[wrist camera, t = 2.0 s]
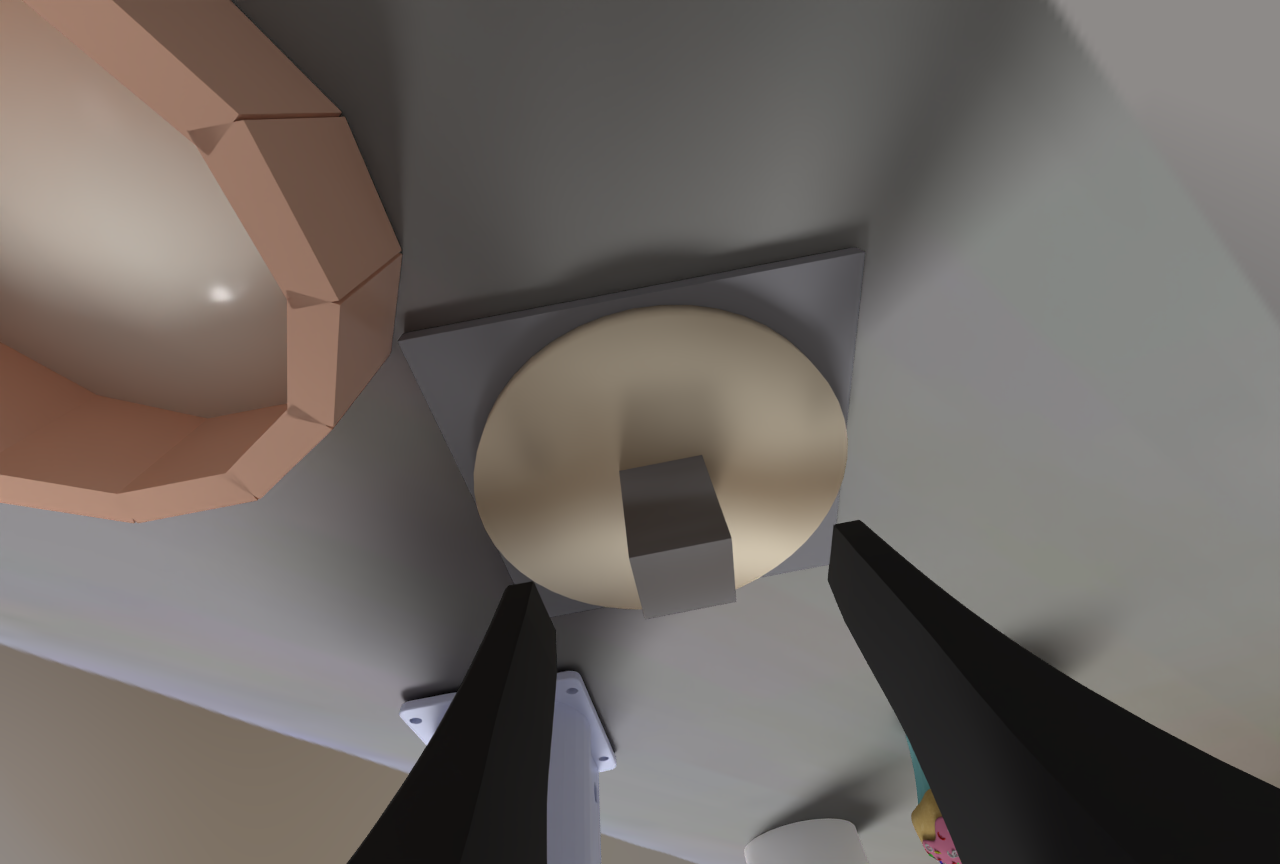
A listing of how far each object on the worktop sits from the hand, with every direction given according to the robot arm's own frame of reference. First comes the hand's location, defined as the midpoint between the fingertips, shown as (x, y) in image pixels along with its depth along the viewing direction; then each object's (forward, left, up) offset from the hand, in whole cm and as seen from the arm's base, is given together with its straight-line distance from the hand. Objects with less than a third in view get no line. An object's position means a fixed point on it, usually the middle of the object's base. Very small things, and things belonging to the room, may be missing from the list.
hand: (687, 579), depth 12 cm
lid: (0, 0, -4) cm, 4 cm away
